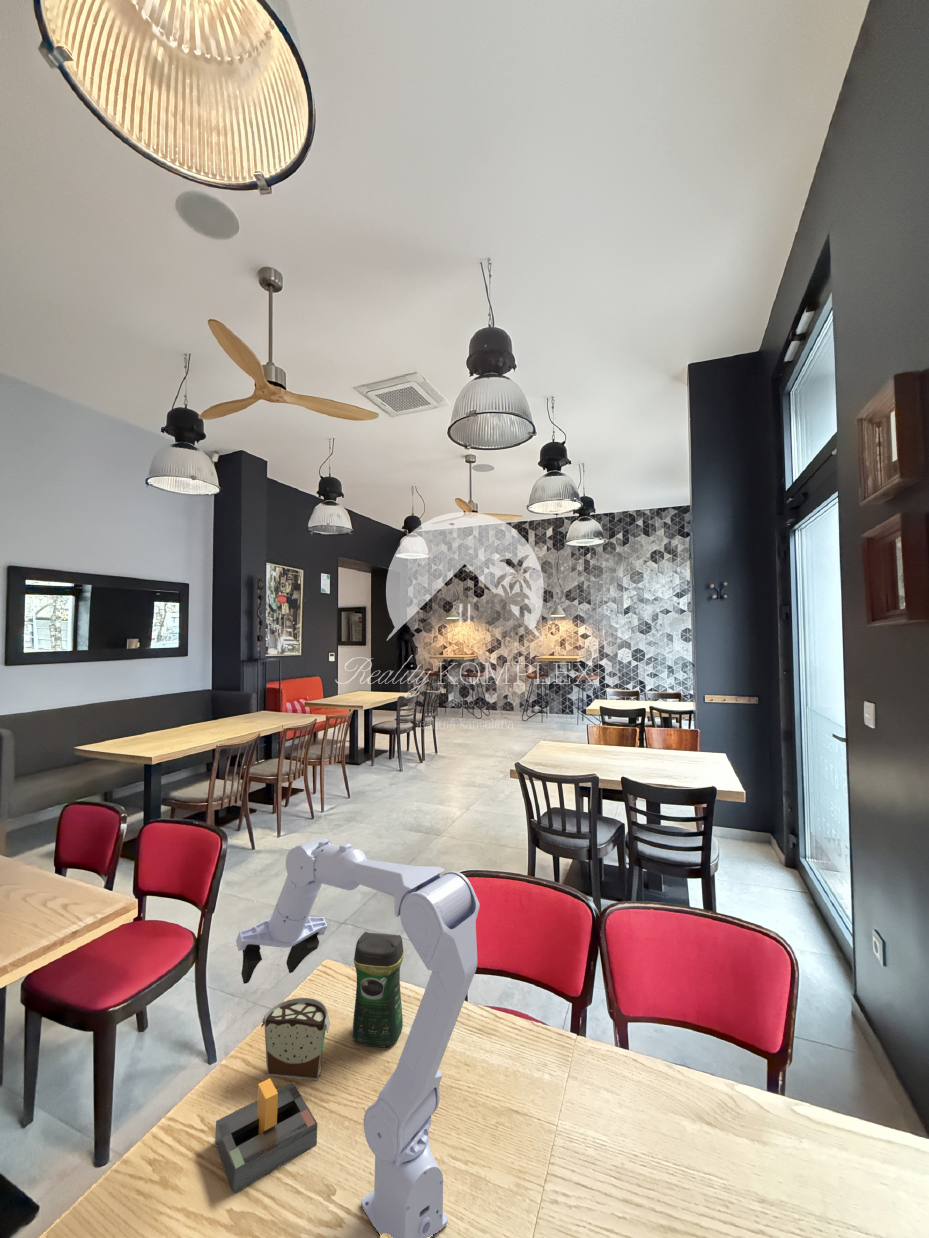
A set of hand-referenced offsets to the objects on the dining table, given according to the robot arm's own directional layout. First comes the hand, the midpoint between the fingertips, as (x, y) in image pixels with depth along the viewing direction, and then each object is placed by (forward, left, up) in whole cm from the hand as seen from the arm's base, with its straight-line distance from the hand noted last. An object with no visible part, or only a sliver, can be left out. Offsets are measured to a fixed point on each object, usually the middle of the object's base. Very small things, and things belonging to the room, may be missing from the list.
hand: (267, 972), depth 87 cm
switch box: (-7, +2, -21) cm, 22 cm away
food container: (+5, -8, -21) cm, 23 cm away
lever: (-7, +2, -21) cm, 22 cm away
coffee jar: (+3, -23, -21) cm, 32 cm away
